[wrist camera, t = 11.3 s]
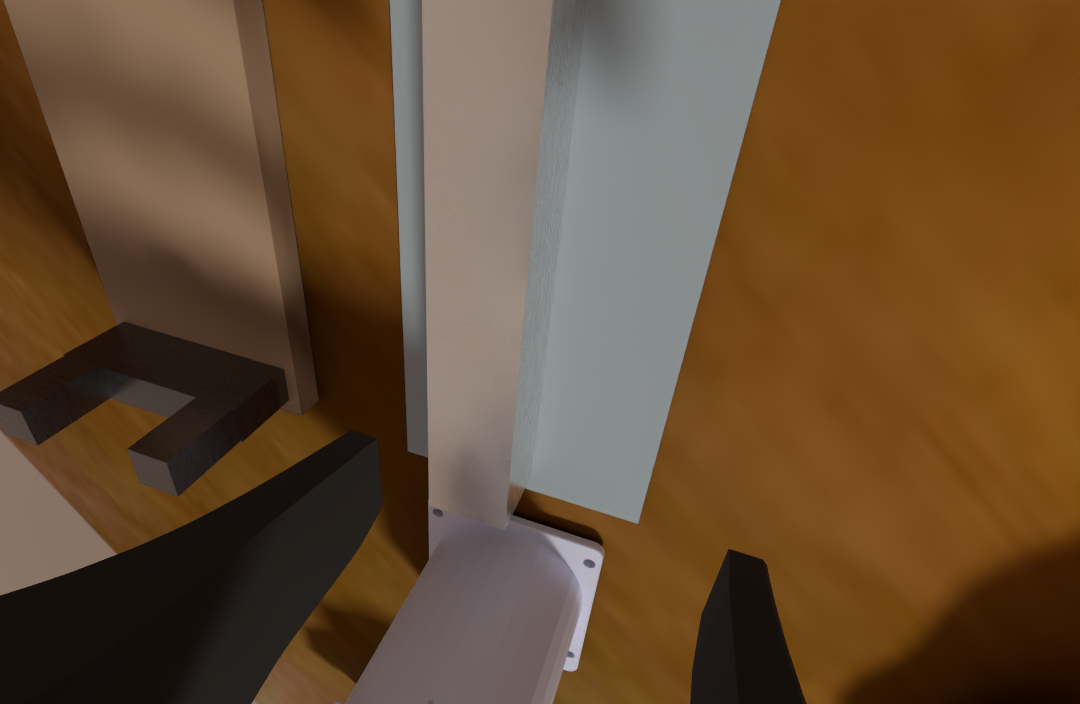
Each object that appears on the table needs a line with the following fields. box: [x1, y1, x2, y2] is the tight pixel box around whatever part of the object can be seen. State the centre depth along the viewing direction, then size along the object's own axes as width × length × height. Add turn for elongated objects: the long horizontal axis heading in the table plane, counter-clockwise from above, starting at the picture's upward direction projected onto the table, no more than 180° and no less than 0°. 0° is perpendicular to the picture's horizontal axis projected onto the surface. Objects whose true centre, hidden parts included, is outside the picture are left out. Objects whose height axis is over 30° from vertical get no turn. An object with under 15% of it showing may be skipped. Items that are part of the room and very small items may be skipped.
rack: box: [0, 0, 319, 496], centre depth 19 cm, size 22×9×7 cm, turn 174°
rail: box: [422, 0, 588, 531], centre depth 17 cm, size 22×3×3 cm, turn 174°
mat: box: [390, 0, 781, 524], centre depth 19 cm, size 24×10×1 cm, turn 174°
